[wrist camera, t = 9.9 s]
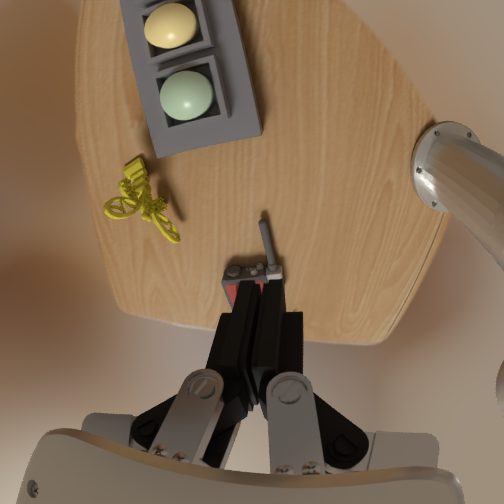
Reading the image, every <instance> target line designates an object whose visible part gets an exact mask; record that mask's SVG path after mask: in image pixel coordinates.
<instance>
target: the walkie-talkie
mask: <svg viewBox="0 0 504 504" xmlns="http://www.w3.org/2000/svg"><path fill="white" fill-rule="evenodd" d="M259 227H260V231H261V235H262V239H263V243H264V247H265V251H266V255H267V259H268V267H265V266H264V265H262V263H258V264H257V266H255V267H248V268H240V267H239V266H236V265H234V266H231V267H229V268H228V269H227V270H225V272H224V275H223V278H222V282H221V283H222V286H223V288H224V291H225V293H226V296H227V299H228V301H229V304H230V306H231V307H232V308H231V309H232V310H233V306H234V302H235V298H236V294H237V290H238V286H239V283H240V281H241V280H255V283H256V284H257V283H260V286H261V292H262V289H263V284H264V283H268V281H269V279H283V275H282V266H281V265H279V266H278V265H277V262H276V261H275V257H274V252H273V248H272V243H271V239H270V235H269V230H268V226H267V222H266V221H265V220H264V219H261V220H260V221H259ZM283 283H284V280H283ZM284 293H285V285H284Z"/></svg>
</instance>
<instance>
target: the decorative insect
mask: <svg viewBox="0 0 504 504" xmlns="http://www.w3.org/2000/svg"><path fill="white" fill-rule="evenodd" d="M147 173H148V171H147V170H146V168H145V165H144V161H143V159H142V158H141V157H139V158H137V159H136V160H134V161H133V162H131V163H130V164H128V165H127V166H126V167H124V174H125V176H126V178H125V179H123V180H122V181H120V182H119V189H120V191H121V193H122V194H123V196H124V197H114V198H112V199H110V200H109V201H107V202H106V203H105V205H104V207H103V209H104V213H105V214H106V215H107V216H109V217H110V218H113V219H124V218H127V217H129V216H131V215H132V214H134V213H135V212H136V211H138V210H139V209H140V211H141V213H142V219H143V220H146V221H148V222H150V221H152V219H153V221H154V223H155V224H156V225H157V227H158V228H159V230H160V231H161V233H162V234H163V235H164V236H165V237H166V238H167V239H168V240H169V241H170V242H173V243H178V242H179V241H180V235H179V233H178V231H177V230H176V228H175V226H174V225H173V224H172V223H171V222H170V220H168V219H167V218H166V217H165V216H163V215H162V214H161V213H160V212H162V211H164V210H166V208H165V207H167V205H164V204H165V202H163V201H164V200H165V199H162V197H160V198H157V199H155V200H152V197H151V196H152V195H151V194H150V193H151V186H150V185H149V182H150V179H149V177H148V176H147ZM129 178H130V179H129ZM128 179H129V180H128ZM127 180H128V181H127ZM131 181H132V185H131V183H130V182H131ZM118 200H119V203H120V204H119V205H120V207H119V206H116V205H114V206H113V205H111V206H110V204H111V203H112V202H113V201H118ZM126 201H127V202H129V203H132V204H134V205H131V204H128V203H126ZM122 202H123V203H122ZM123 204H125V205H126V206H128V207H130V208H134V209H133V210H132V211H130V212H128V213H126V211H125V209H124V208H123ZM111 208H112V209H113V208H114V209H115V208H116V209H118V210H120V211H123V213H117V212H114V211H112V210H111ZM161 218H162V219H161ZM162 223H164V224H166V225H168V224H169V225H170V230H167V229H166V227H165V226H164V225H163V224H162ZM172 230H173V231H172ZM171 233H173V234H174V235H175V236H176V237H174V236H173V235H172V234H171Z"/></svg>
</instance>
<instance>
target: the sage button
mask: <svg viewBox="0 0 504 504" xmlns="http://www.w3.org/2000/svg"><path fill="white" fill-rule="evenodd" d="M215 97H216V91H215V87H214V84H213V82H212V80H211V79H210V78H209V77H207V76H206V75H204V74H202V73H199V72H192V71H181V72H178V73H175V74H173V75H172V76H170V77H169V78H168V79H167V80H166V81H165V83H164V84H163V86H162V88H161V92H160V102H161V105H162V108H163V109H164V111H165V112H166V113H167V114H168V115H169V116H171V117H172V118H175V119H178V120H189V119H192V118H195V117H198V116H200V115H202V114H204V113H206V112H207V111H208V110H209V109H210V108H211V107H212V105H213V103H214V101H215Z"/></svg>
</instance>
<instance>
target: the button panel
mask: <svg viewBox="0 0 504 504" xmlns="http://www.w3.org/2000/svg"><path fill="white" fill-rule="evenodd" d="M170 3H178V4H182V5H184V6H186V7H187V8H188V9H190V10H191V11H192V12H194V13H195V14H196V15H197V16H198V18H199V22H200V30H199V33H198V35H197V37H196V38H195V39H194V40H193V41H192V42H191V43H190V44H189V45H187V46H184V47H181V48H178V49H175V50H171V49H166V48H162V47H158V46H155V45H153V44H151V43H150V42H149V41H148V40H147V39H146V37H145V33H144V27H145V23H146V21H147V19H148V17H149V16H150V14H151V13H152V12H153V11H154V10H156V9H157V8H159V7H161V6H163V5H166V4H170ZM120 4H121V10H122V16H123V21H124V27H125V32H126V37H127V42H128V47H129V51H130V56H131V61H132V65H133V70H134V74H135V78H136V82H137V86H138V90H139V94H140V98H141V102H142V106H143V110H144V114H145V117H146V121H147V125H148V128H149V132H150V136H151V139H152V143H153V146H154V149H155V153H156V156H157V158H161V157H165V156H169V155H172V154H176V153H180V152H184V151H188V150H192V149H197V148H201V147H206V146H210V145H215V144H220V143H224V142H230V141H235V140H240V139H246V138H251V137H257V136H261V135H262V133H263V129H262V124H261V119H260V114H259V109H258V104H257V100H256V95H255V90H254V85H253V81H252V76H251V71H250V67H249V62H248V58H247V53H246V49H245V45H244V40H243V36H242V32H241V28H240V24H239V19H238V15H237V11H236V7H235V3H234V0H120ZM181 71H192V72H199V73H202V74H204V75H206V76H207V77H209V78H210V79H211V80H212V82H213V84H214V87H215V91H216V97H215V101H214V103H213V105H212V107H211V108H210V109H209V110H208V111H207V112H206V113H204V114H202V115H200V116H198V117H195V118H192V119H189V120H178V119H175V118H172V117H171V116H169V115H168V114H167V113H166V112H165V111H164V109H163V108H162V105H161V102H160V92H161V88H162V86H163V84H164V83H165V81H166V80H167V79H168V78H169V77H170V76H172V75H173V74H175V73H178V72H181Z"/></svg>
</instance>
